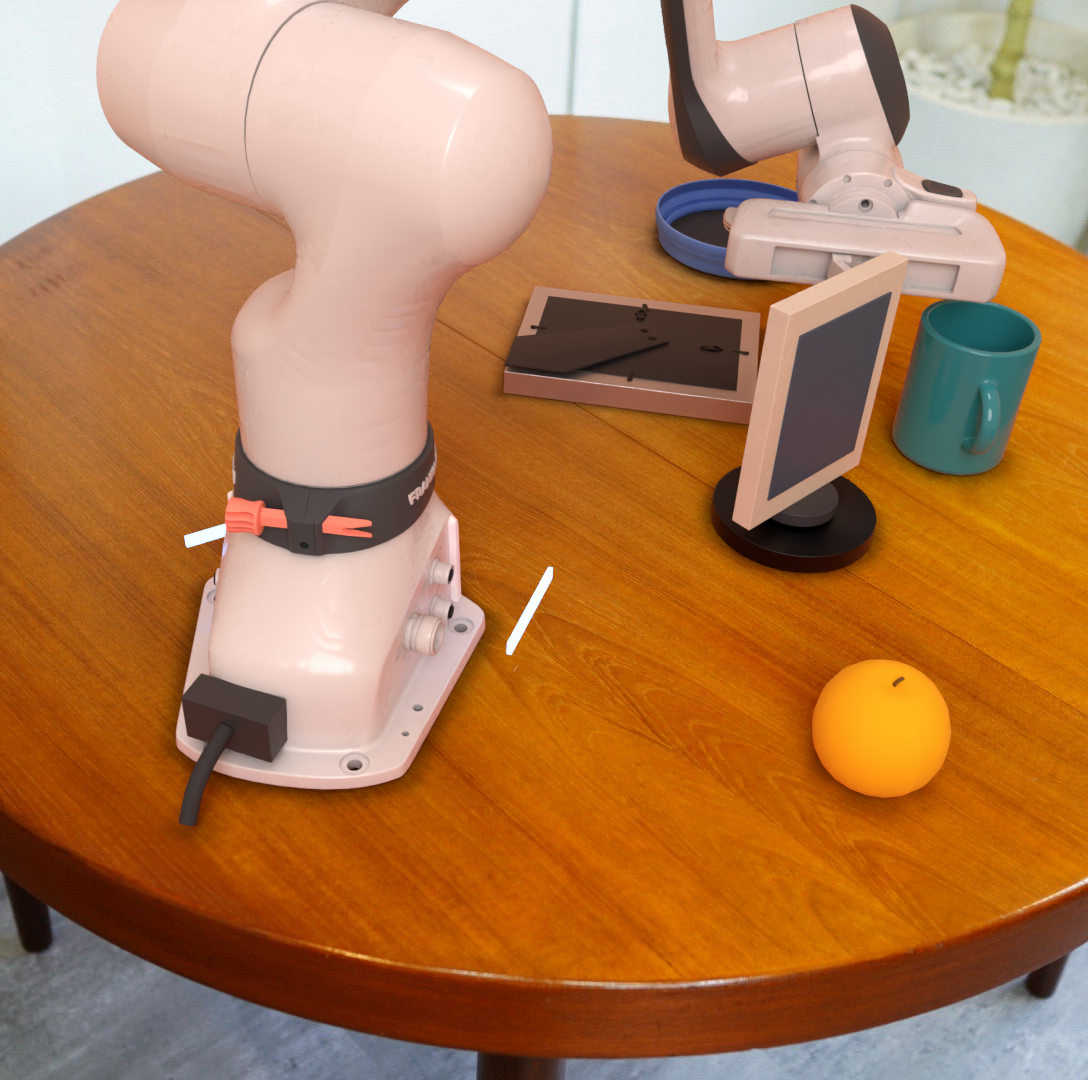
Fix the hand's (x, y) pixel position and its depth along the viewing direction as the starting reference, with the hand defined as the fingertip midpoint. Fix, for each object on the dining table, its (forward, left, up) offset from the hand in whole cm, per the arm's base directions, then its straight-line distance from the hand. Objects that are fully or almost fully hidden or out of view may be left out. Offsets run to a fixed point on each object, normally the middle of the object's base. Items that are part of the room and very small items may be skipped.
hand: (868, 299), depth 93 cm
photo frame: (-6, +3, -14) cm, 15 cm away
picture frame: (+15, +16, -16) cm, 27 cm away
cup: (+6, -10, -16) cm, 20 cm away
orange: (-30, -1, -16) cm, 34 cm away
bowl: (+41, +7, -16) cm, 45 cm away
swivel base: (-6, +3, -16) cm, 17 cm away
